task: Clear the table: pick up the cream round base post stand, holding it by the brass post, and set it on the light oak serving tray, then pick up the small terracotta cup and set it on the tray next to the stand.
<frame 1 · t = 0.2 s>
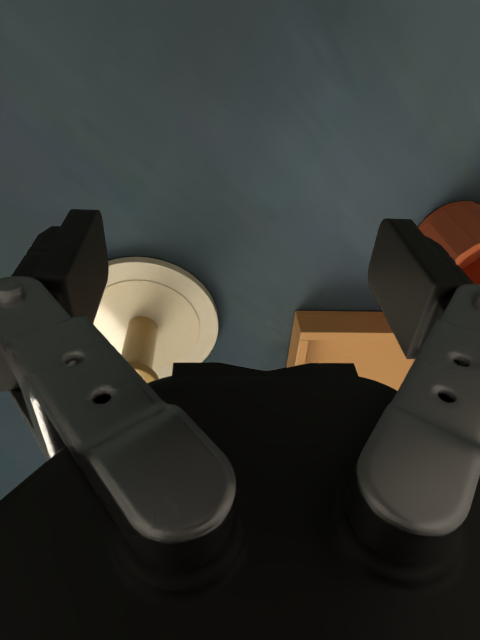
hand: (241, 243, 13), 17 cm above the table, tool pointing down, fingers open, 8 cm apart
serving tray: (412, 382, 42), on the table
terracotta cup: (451, 239, 33), on the table
round base post stand: (144, 321, 36), on the table
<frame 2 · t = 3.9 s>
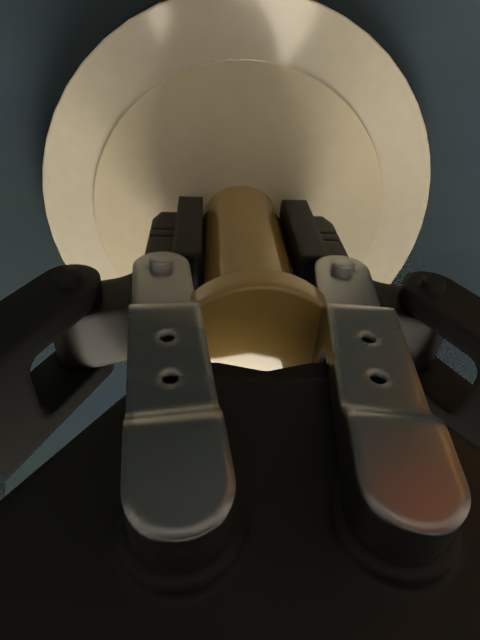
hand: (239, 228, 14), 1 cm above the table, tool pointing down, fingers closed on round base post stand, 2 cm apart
round base post stand: (238, 210, 15), on the table, touching gripper
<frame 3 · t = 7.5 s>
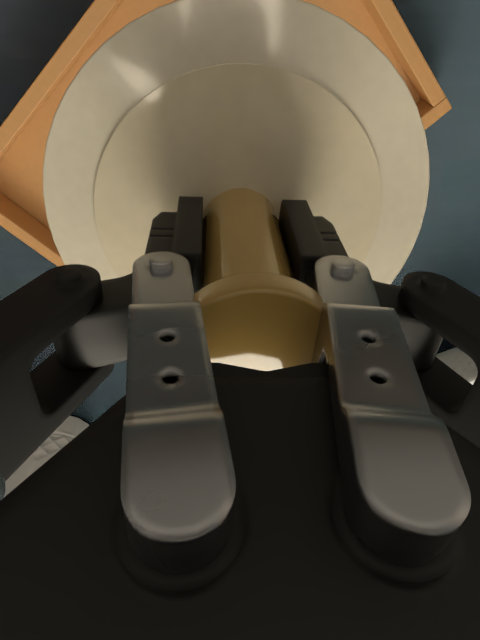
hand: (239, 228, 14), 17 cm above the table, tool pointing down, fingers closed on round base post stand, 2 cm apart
serving tray: (196, 136, 28), on the table
white cup: (63, 433, 45), on the table
round base post stand: (238, 212, 15), point 16 cm above the table, touching gripper
cereal bowl: (449, 381, 44), on the table
when the fingers open (2 cm above the table, at t = 11.2 s): round base post stand stays where it is, resting on serving tray.
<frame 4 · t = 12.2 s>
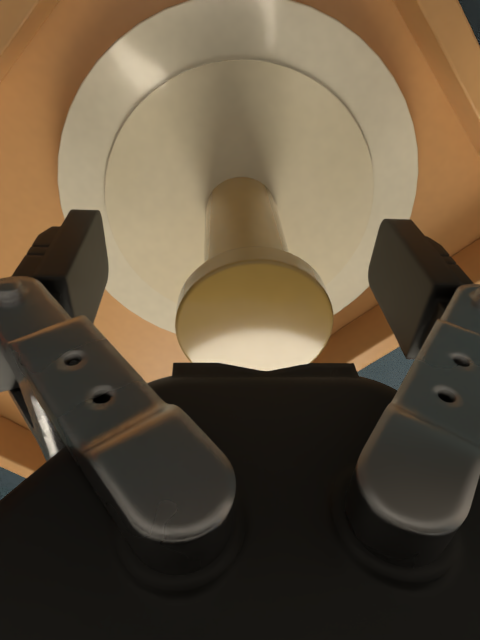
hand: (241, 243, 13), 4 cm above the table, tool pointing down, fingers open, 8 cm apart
serving tray: (155, 262, 18), on the table
round base post stand: (239, 201, 16), point 1 cm above the table, touching serving tray
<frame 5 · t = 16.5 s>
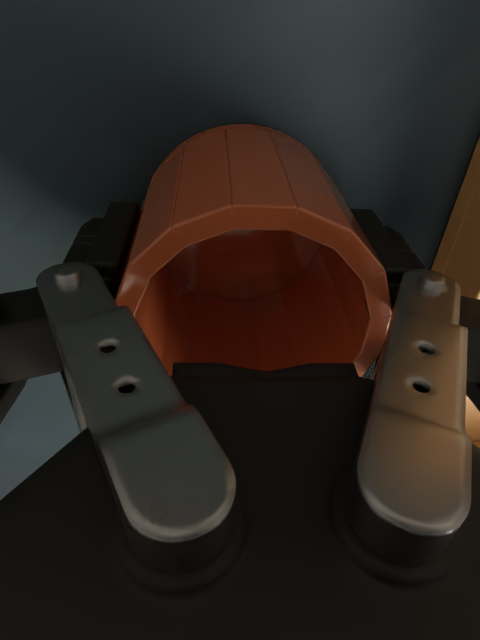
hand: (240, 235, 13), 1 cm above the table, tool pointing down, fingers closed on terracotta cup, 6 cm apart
terracotta cup: (240, 223, 14), on the table, touching gripper
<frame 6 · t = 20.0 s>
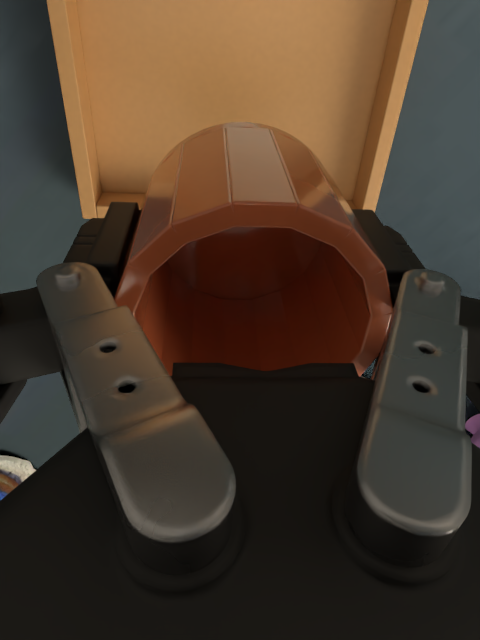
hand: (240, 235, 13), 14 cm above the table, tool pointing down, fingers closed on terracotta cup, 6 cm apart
dessert: (0, 471, 44), on the table
terracotta cup: (240, 222, 14), point 14 cm above the table, touching gripper
when the fingers open (2 cm above the table, at t = 23.4 s): terracotta cup stays where it is, resting on serving tray.
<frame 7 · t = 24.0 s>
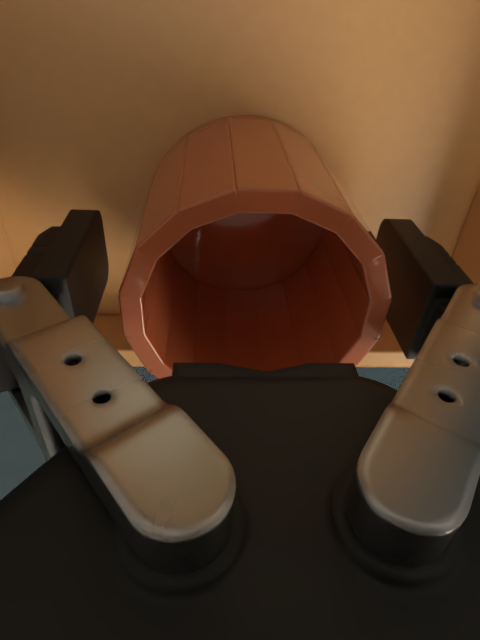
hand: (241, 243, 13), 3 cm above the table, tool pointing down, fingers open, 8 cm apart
terracotta cup: (242, 214, 14), point 1 cm above the table, touching serving tray
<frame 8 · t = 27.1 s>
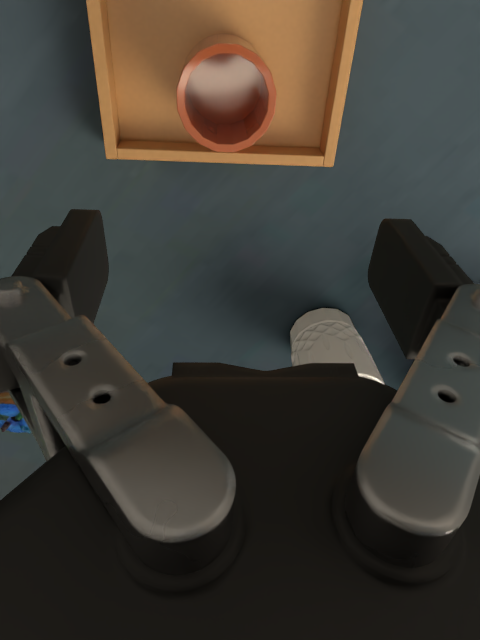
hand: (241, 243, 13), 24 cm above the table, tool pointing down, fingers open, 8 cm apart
dessert: (28, 397, 51), on the table
white cup: (321, 331, 47), on the table
terracotta cup: (224, 83, 31), point 1 cm above the table, touching serving tray
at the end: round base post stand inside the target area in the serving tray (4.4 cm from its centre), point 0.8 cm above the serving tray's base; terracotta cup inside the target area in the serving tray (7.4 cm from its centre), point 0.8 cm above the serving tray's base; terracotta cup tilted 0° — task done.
